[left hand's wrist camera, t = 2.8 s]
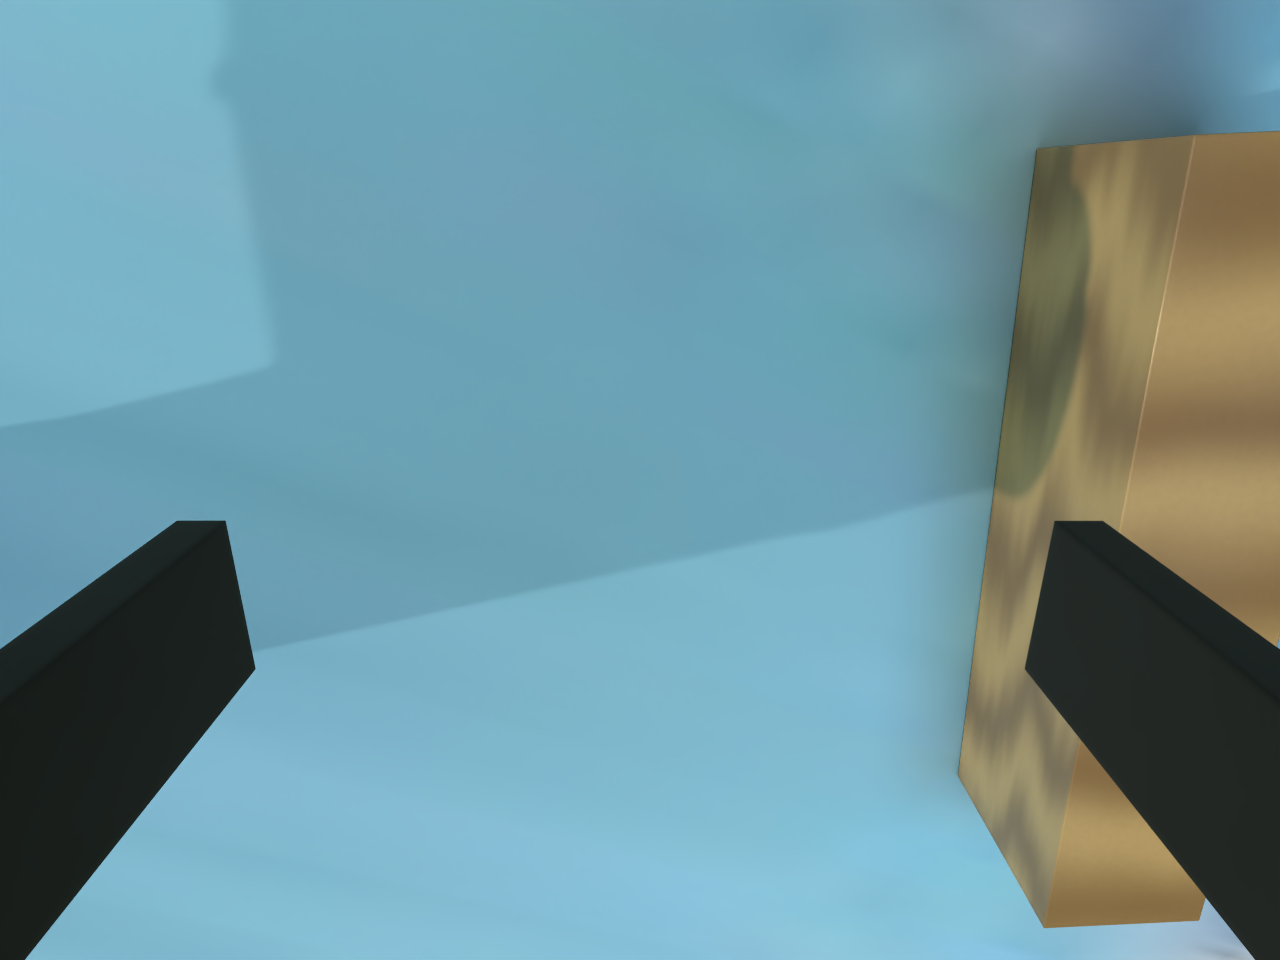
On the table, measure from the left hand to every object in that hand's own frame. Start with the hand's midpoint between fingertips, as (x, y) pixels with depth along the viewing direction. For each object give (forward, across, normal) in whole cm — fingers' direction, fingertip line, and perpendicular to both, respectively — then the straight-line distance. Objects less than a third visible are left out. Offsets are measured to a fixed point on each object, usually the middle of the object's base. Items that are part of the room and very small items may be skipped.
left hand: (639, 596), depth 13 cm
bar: (+19, -18, +6) cm, 26 cm away
